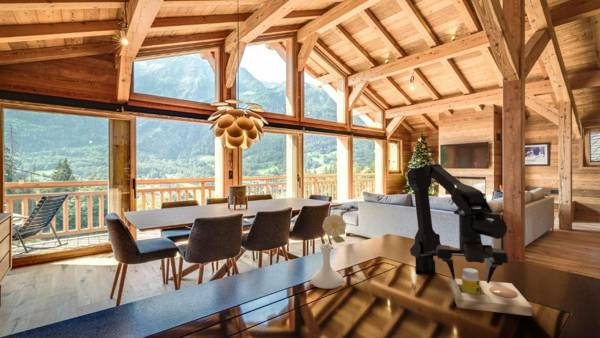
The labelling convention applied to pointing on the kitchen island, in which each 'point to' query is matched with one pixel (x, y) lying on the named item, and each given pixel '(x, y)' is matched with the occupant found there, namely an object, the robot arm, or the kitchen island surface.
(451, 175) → the robot arm
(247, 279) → the kitchen island surface
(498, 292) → the coaster
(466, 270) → the supplement bottle
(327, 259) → the flower in vase
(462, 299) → the pocket board
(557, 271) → the kitchen island surface
